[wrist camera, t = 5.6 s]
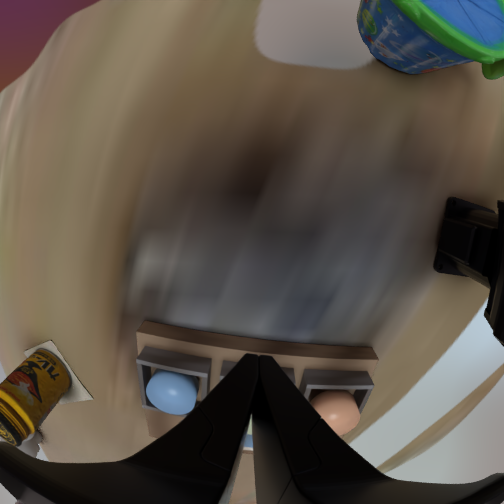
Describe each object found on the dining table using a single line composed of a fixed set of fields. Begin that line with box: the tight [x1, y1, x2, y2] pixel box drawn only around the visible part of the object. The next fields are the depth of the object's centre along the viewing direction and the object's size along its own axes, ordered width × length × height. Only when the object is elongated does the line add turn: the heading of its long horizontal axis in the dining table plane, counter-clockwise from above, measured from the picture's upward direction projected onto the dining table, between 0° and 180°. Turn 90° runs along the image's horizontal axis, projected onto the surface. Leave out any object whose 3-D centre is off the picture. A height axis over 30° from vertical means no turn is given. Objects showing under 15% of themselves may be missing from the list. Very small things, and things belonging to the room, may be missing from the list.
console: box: [136, 321, 379, 454], centre depth 23 cm, size 20×14×4 cm
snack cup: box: [357, 0, 504, 80], centre depth 11 cm, size 16×11×10 cm
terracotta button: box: [310, 389, 360, 436], centre depth 20 cm, size 4×4×2 cm
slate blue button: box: [146, 368, 199, 415], centre depth 21 cm, size 4×4×2 cm
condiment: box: [0, 340, 93, 447], centre depth 20 cm, size 7×8×12 cm
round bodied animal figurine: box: [0, 430, 42, 458], centre depth 27 cm, size 7×12×8 cm, turn 143°
